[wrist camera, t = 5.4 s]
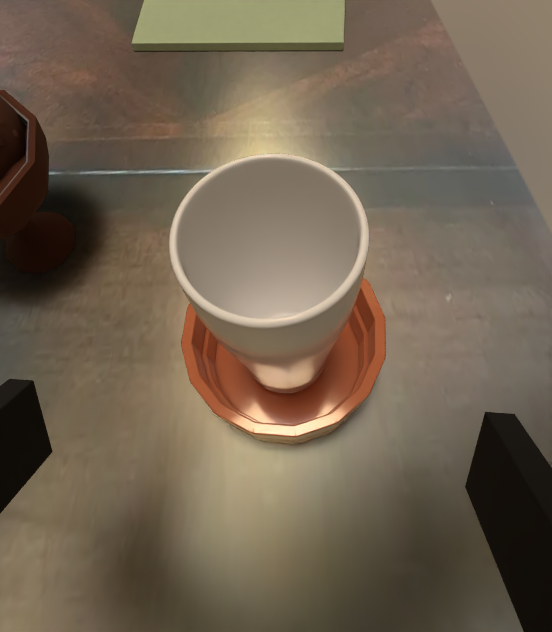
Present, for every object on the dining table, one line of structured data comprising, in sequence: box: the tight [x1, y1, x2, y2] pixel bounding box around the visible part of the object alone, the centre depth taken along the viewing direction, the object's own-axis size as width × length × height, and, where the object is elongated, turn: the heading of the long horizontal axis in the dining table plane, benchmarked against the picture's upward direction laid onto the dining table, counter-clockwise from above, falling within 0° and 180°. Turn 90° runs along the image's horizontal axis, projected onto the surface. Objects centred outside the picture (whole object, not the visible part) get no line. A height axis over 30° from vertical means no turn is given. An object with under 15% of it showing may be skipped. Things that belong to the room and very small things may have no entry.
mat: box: [132, 0, 345, 51], centre depth 40 cm, size 20×9×1 cm, turn 85°
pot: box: [181, 278, 386, 444], centre depth 25 cm, size 11×11×6 cm
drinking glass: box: [169, 153, 369, 393], centre depth 20 cm, size 7×7×15 cm
